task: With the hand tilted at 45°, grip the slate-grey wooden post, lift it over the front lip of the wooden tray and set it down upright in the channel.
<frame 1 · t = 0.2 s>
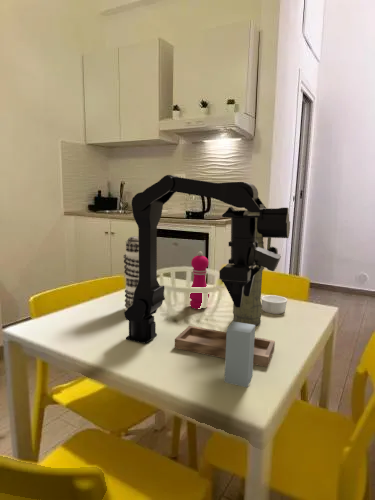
hand: (242, 301, 83), 14 cm above the table, tool pointing down, fingers open, 9 cm apart
ramekin: (273, 310, 121), on the table
decorative candle: (137, 309, 119), on the table
pepper mill: (198, 307, 123), on the table
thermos: (247, 322, 110), on the table
wooden tray: (224, 348, 90), on the table
slate post: (238, 379, 76), on the table
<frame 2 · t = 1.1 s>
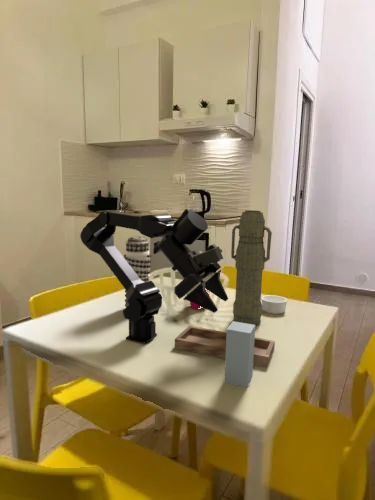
hand: (221, 305, 83), 13 cm above the table, tool tilted 45°, fingers open, 9 cm apart
nothing on the table moved.
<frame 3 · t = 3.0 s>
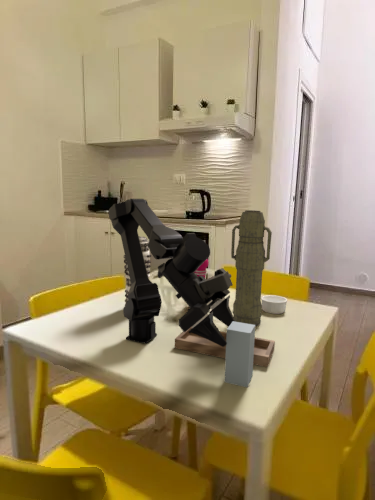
hand: (231, 337, 75), 9 cm above the table, tool tilted 45°, fingers open, 9 cm apart
nothing on the table moved.
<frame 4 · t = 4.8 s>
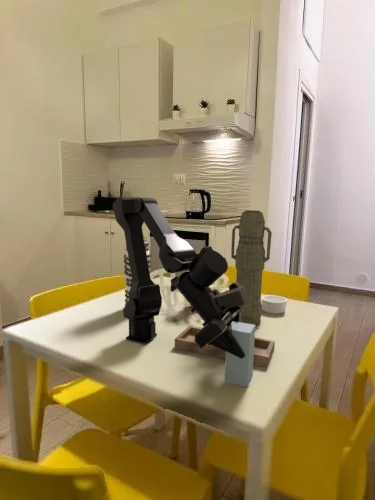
hand: (246, 351, 74), 7 cm above the table, tool tilted 45°, fingers closed on slate post, 5 cm apart
slate post: (238, 379, 76), on the table, touching gripper
everything else where it was.
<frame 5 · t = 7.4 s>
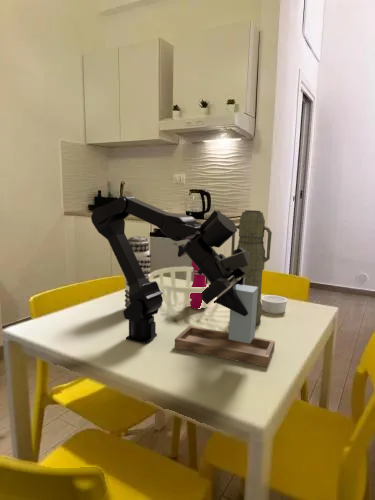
hand: (249, 311, 80), 13 cm above the table, tool tilted 45°, fingers closed on slate post, 5 cm apart
slate post: (241, 337, 81), point 7 cm above the table, touching gripper
everything else where it was.
when the fingers open (8 cm above the table, at t = 10.1 s): slate post drops 1 cm, resting on wooden tray.
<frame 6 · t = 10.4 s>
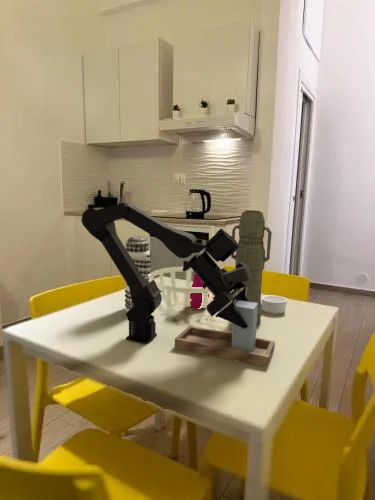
hand: (250, 321, 86), 9 cm above the table, tool tilted 45°, fingers open, 9 cm apart
slate post: (243, 349, 88), point 1 cm above the table, touching wooden tray
everything else where it was.
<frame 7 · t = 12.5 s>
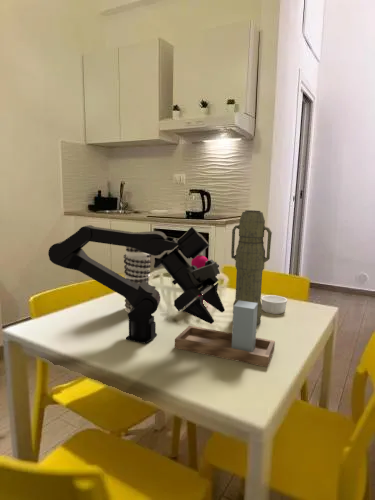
hand: (218, 316, 89), 8 cm above the table, tool tilted 45°, fingers open, 9 cm apart
nothing on the table moved.
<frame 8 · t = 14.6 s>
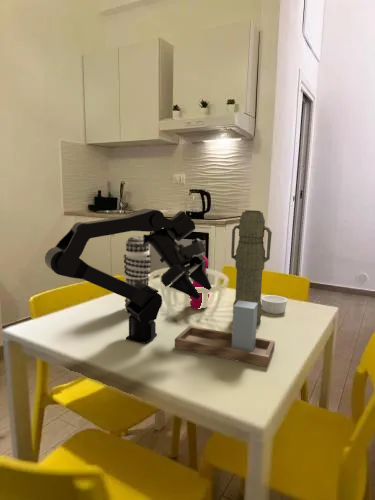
hand: (204, 293, 92), 14 cm above the table, tool tilted 45°, fingers open, 9 cm apart
nothing on the table moved.
at the end: slate post inside the target area on the wooden tray (5.0 cm from its centre), point 0.8 cm above the wooden tray's base; slate post tilted 0°; the gripper is holding nothing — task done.
